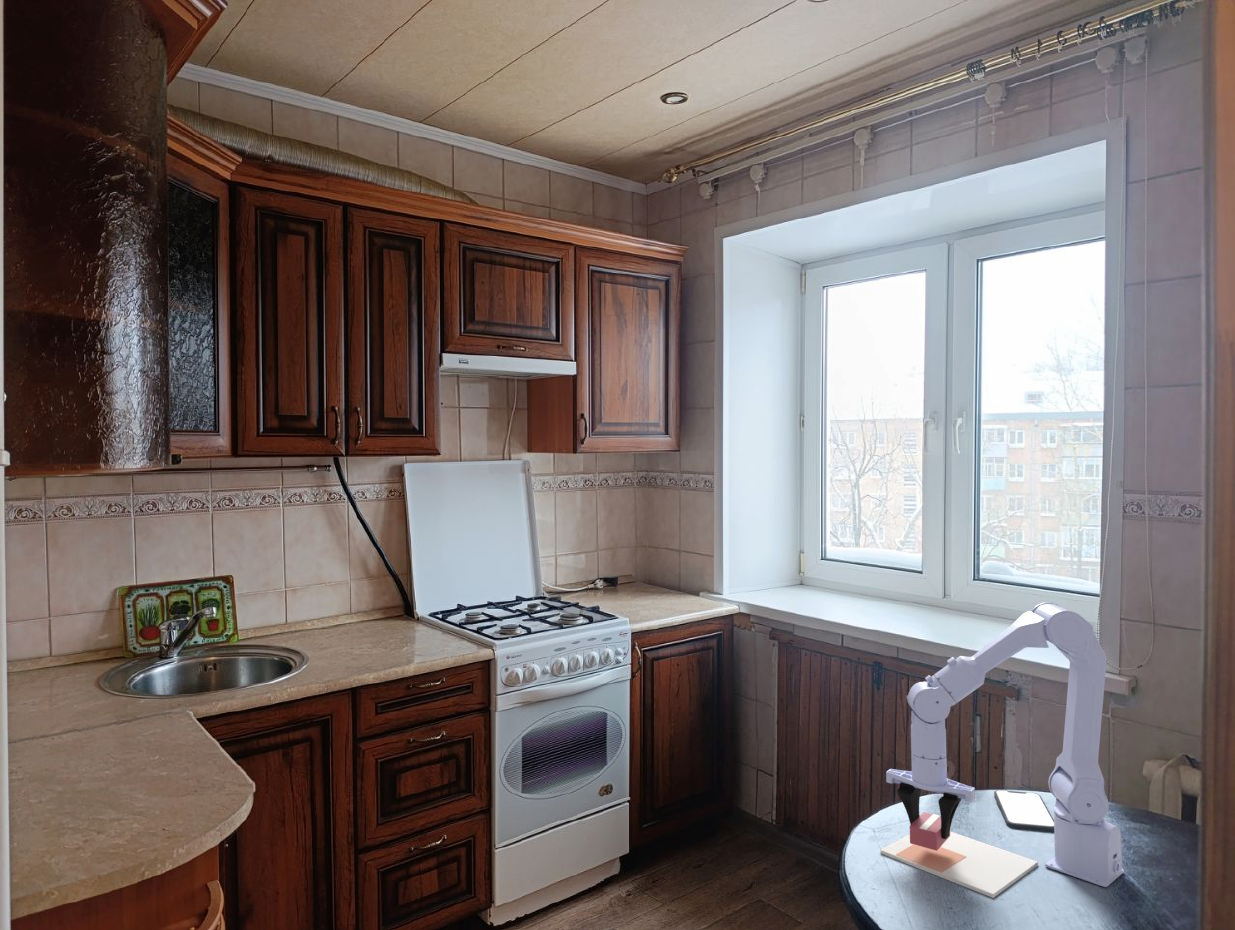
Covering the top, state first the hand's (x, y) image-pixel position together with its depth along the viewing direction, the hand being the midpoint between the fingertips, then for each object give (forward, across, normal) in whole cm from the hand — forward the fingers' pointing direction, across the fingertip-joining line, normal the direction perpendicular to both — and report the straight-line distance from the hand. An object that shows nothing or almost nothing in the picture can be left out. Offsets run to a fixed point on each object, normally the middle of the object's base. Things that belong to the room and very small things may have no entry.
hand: (930, 832), depth 140 cm
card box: (+1, 0, 0) cm, 1 cm away
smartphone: (+5, -8, -30) cm, 32 cm away
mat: (+5, -4, -3) cm, 7 cm away
